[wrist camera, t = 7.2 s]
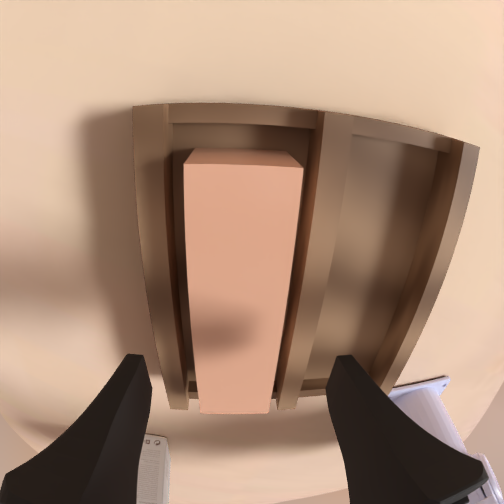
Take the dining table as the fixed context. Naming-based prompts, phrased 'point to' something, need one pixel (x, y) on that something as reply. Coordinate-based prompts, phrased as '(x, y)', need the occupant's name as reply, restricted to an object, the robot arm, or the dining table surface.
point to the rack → (311, 234)
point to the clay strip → (239, 270)
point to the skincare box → (154, 471)
